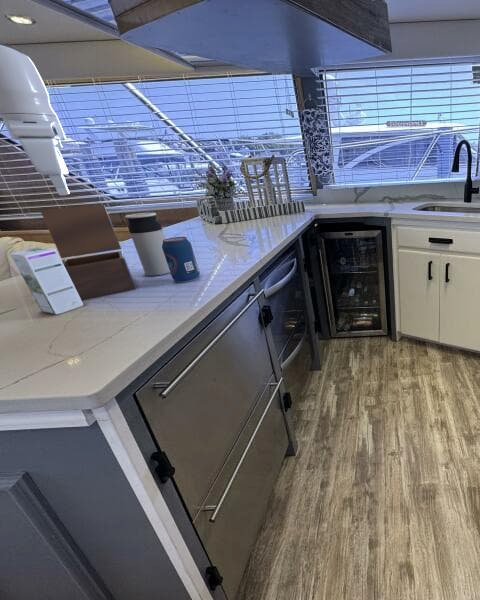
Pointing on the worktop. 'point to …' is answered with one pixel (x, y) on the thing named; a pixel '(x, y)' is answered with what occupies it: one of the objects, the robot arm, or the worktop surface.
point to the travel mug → (148, 242)
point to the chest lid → (81, 230)
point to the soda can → (180, 259)
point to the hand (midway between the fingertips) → (64, 195)
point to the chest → (99, 274)
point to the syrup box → (47, 280)
